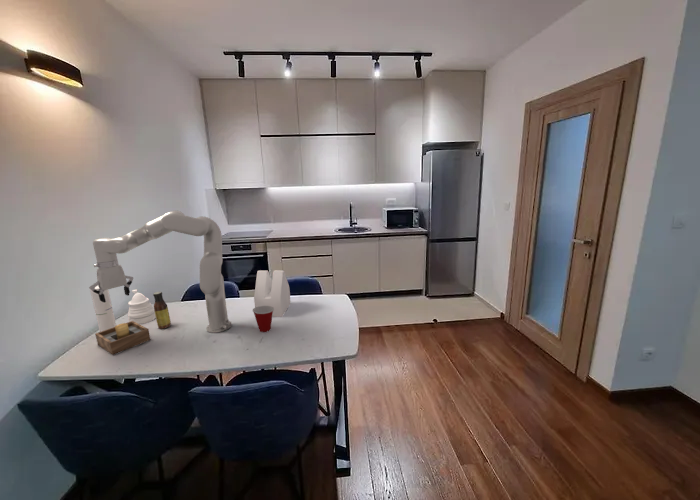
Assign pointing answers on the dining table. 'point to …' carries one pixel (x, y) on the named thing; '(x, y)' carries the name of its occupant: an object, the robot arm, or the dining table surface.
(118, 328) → the peg
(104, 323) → the cylindrical container
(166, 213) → the robot arm
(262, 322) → the plastic cup
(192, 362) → the dining table surface
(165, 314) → the sauce bottle
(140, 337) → the peg box
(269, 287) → the white notched block
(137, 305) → the honey pot
